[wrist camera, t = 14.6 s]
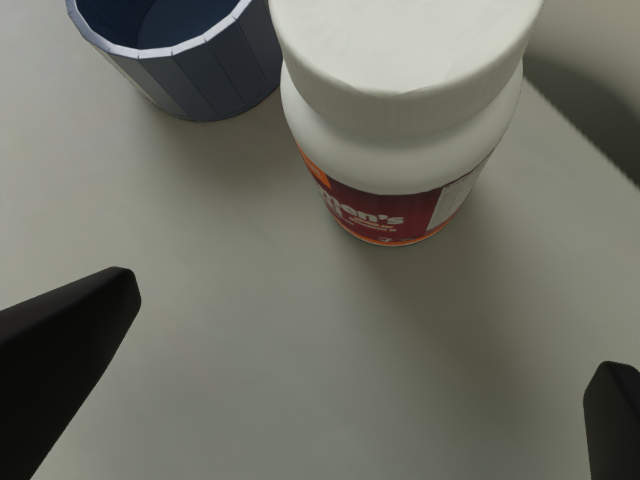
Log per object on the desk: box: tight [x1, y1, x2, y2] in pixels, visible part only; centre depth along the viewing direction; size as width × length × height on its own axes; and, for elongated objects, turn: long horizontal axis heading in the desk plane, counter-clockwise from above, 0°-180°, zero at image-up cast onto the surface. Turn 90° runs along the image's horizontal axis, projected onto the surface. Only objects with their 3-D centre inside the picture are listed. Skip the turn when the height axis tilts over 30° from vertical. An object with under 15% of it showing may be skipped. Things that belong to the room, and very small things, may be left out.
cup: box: [65, 0, 283, 122], centre depth 19 cm, size 9×9×5 cm
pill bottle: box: [268, 0, 546, 246], centre depth 13 cm, size 6×6×11 cm
